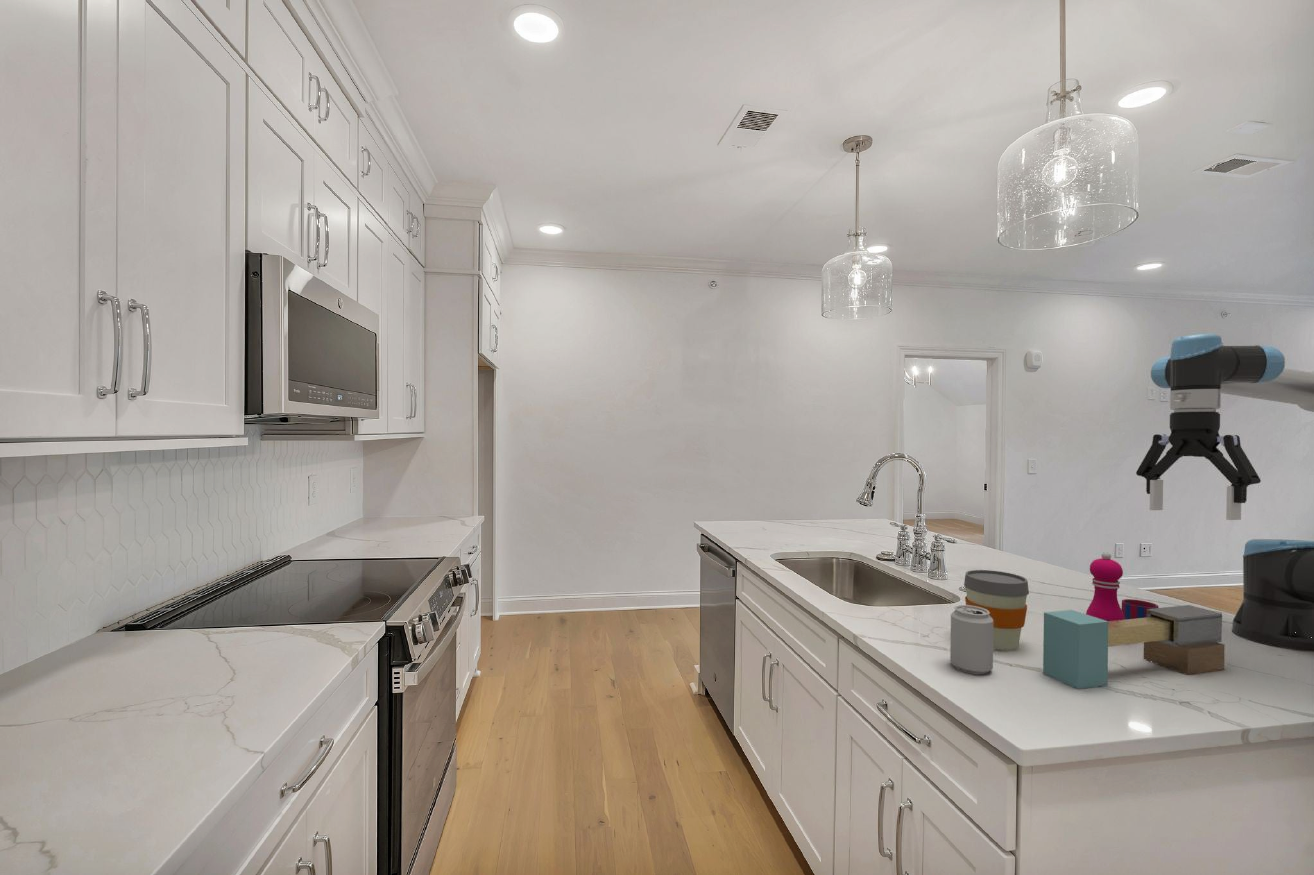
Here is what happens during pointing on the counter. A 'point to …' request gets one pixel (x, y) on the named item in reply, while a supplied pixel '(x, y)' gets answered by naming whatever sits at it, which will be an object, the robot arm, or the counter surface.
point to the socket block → (1075, 648)
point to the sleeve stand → (1188, 640)
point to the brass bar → (1139, 630)
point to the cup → (1136, 608)
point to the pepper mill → (1105, 589)
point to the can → (971, 639)
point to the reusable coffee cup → (999, 603)
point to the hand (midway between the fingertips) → (1192, 514)
